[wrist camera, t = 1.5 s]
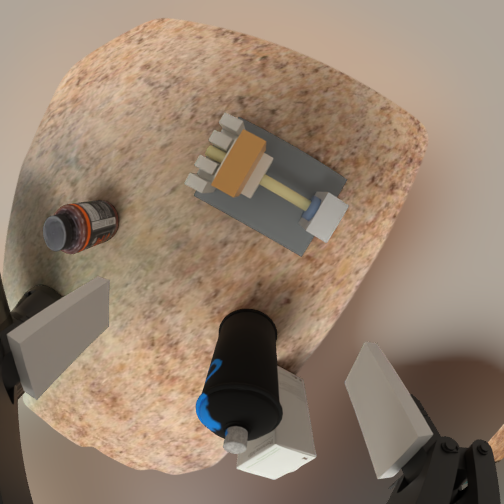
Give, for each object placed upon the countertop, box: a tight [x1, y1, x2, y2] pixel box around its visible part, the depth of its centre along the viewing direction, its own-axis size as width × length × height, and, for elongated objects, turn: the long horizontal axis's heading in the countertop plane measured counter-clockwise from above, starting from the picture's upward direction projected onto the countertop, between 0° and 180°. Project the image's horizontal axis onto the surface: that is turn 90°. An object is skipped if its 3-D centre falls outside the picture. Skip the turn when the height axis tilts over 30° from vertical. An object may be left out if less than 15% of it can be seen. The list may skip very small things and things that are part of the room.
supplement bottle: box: [43, 200, 118, 254], centre depth 29 cm, size 6×6×11 cm
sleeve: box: [211, 129, 273, 198], centre depth 24 cm, size 4×5×9 cm
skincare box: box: [236, 366, 316, 479], centre depth 32 cm, size 8×7×16 cm
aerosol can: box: [196, 309, 283, 454], centre depth 28 cm, size 8×8×20 cm
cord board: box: [184, 113, 349, 257], centre depth 29 cm, size 15×11×8 cm
